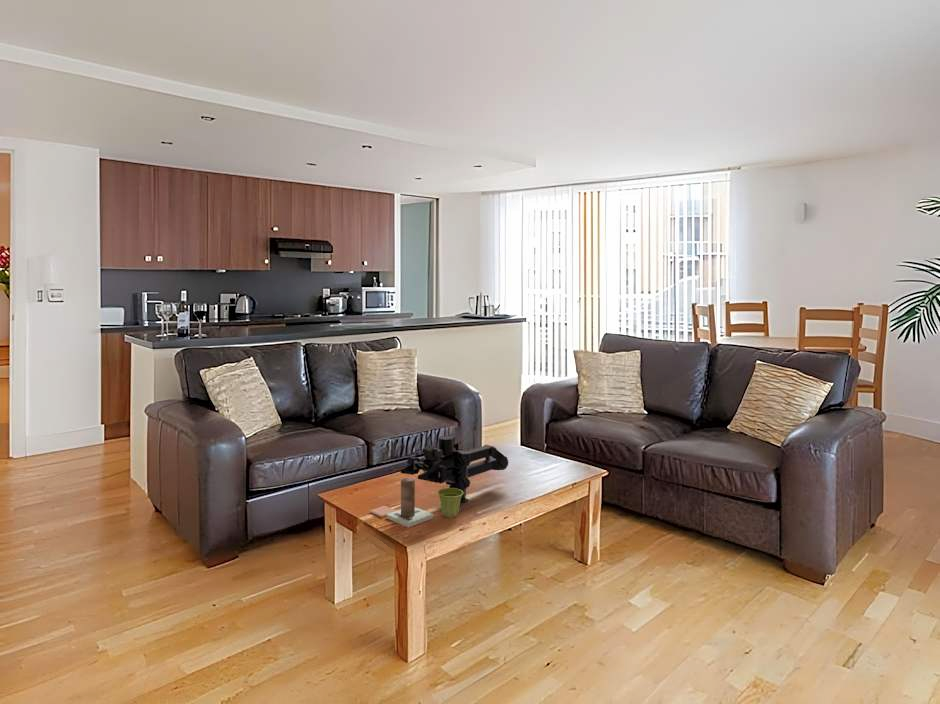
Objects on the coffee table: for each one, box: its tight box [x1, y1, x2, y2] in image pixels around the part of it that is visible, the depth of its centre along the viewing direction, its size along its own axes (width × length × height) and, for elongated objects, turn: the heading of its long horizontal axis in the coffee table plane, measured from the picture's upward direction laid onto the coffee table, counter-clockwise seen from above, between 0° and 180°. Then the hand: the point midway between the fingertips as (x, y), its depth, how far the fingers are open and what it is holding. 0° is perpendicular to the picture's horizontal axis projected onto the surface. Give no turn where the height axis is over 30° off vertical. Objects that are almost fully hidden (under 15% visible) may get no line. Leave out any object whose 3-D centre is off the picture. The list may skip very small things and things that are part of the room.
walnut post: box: [400, 477, 416, 517], centre depth 231 cm, size 5×5×13 cm
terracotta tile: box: [369, 505, 397, 518], centre depth 238 cm, size 7×7×1 cm
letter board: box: [386, 506, 434, 528], centre depth 233 cm, size 12×12×2 cm
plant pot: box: [437, 487, 463, 518], centre depth 236 cm, size 9×9×9 cm
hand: (409, 474), depth 230 cm, fingers open, 9 cm apart
